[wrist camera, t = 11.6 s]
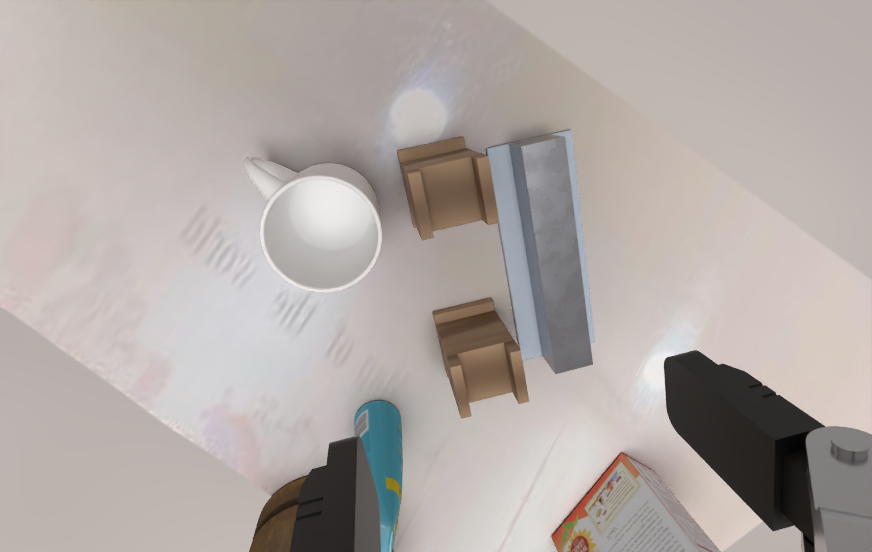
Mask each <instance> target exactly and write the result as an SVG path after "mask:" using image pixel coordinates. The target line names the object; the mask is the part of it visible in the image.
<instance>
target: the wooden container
mask: <svg viewBox="0 0 872 552" xmlns="http://www.w3.org/2000/svg"><path fill="white" fill-rule="evenodd" d="M306 478H307V476H306V477H303V478H300V479H297V480H295V481H293V482H291V483H289V484H287V485H286V486H284V487H282V488H281V489H280V490H278V491H277V492H276V493H275V494H274V495H273V496H272V497H271V498H270V499H269V501H268V502H267V503H266V504H265V506H264V508H263V510H262V512H261V514H260V517H259V520H258V523H257V527H256V530H255V534H254V537H253V542H252V545H251V548H250V551H249V552H290V546H291V541H292V535H293V529H294V523H295V522H296V512H297V507H298V500H299V495H300V489H301V485H302V484H303V482H304V481H305V479H306ZM392 552H393V549H392Z"/></svg>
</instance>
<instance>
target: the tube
mask: <svg viewBox="0 0 872 552" xmlns="http://www.w3.org/2000/svg"><path fill="white" fill-rule="evenodd" d="M354 425H355V436H360V438H361V440H362V443H363V447H364V450H365V453H366V456H367V460H368V463H369V466H370V470H371V473H372V476H373V479H374V483H375V486H376V490H377V495H378V501H379V510H380V538H381V552H392V549H393V544H394V539H395V533H396V528H397V522H398V515H399V509H400V504H401V495H402V469H403V458H402V430H401V417H400V413H399V411H398V410H397V408H396V407H395V406H394V405H392V404H391V403H389V402H386V401H381V400H379V401H372V402H369V403H366V404H365V405H364V406H362V407H361V408H360V409H359V411H358V412H357V414H356V416H355V423H354Z"/></svg>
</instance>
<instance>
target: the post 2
mask: <svg viewBox="0 0 872 552" xmlns="http://www.w3.org/2000/svg"><path fill="white" fill-rule="evenodd" d="M433 315H434V320H435V324H436V329H437V333H438V338H439V342H440V347H441V351H442V356H443V360H444V365H445V369H446V373H447V376H448V377H449V380H450V384H451V387H452V390H453V393H454V397H455V400H456V403H457V406H458V410H459V413H460V416H461V419H462V418H466V417H470V416H471V411H470V406H469V403H471V402H475V401H479V400H482V399H486V398H490V397H494V396H498V395H502V394H506V393H510V392H513V394H514V395H515V397H516V399H517V401H518V403H519V404H521V403H525V402H529V398H528V392H527V386H526V380H525V374H524V368H523V362H522V356H521V350H520V349H519V347H518V345H517V344H516V342H515V341H514V339H513V338H512V336H511V335H510V333H509V332H508V330H507V329H506V327H505V325H504V324H503V322H502V321H501V319H500V318H499V316H498V315H497V313H496V312H495V310H494V304H493V300H492V299H491V298H488V299H483V300H479V301H475V302H471V303H467V304H463V305H458V306H454V307H450V308H446V309H442V310H438V311H433Z"/></svg>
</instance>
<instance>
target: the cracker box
mask: <svg viewBox="0 0 872 552" xmlns="http://www.w3.org/2000/svg"><path fill="white" fill-rule="evenodd" d="M552 539H553V542H554V544H555V546H556V548H557V551H558V552H720V551H719V549H718V548H717V547H716V546H715V545H714V543H713V542H712V541H711V540H710V538H709V537H708V536H707V535H706V534H705V532H704V531H703V530H702V529H701V528H700V526H699V525H698V524H697V523H696V522H695V520H694V519H693V518H692V517H691V516H690V514H689V513H688V512H687V511H686V509H685V508H684V507H683V506H682V505H681V503H680V502H679V501H678V500H677V499H676V497H675V496H674V495H673V494H672V492H671V491H670V490H669V489H668V488H667V486H666V485H665V484H664V483H663V482H662V481H661V479H660V478H659V477H658V476H657V475H656V473H655V472H654V471H653V470H651V469H649V468H647V467H646V466H644V465H642V464H640V463H639V462H637V461H635V460H633V459H632V458H630V457H628V456H626V455H625V454H623V453H621V454H620V455H619V456H618V458H617V459H616V460H615V461H614V463H613V464H612V465H611V466H610V467H609V469H608V470H607V471H606V472H605V473H604V475H603V476H602V477H601V478H600V479H599V481H598V482H597V483H596V484H595V485H594V487H593V488H592V489H591V490H590V492H589V493H588V494H587V495H586V496H585V498H584V499H583V500H582V501H581V502H580V504H579V505H578V506H577V507H576V508H575V510H574V511H573V512H572V513H571V515H570V516H569V517H568V518H567V519H566V520H565V522H564V523H563V524H562V525H561V526H560V528H559V529H558V530H557V531H556V532H555V534H554V535H553V536H552Z"/></svg>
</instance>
